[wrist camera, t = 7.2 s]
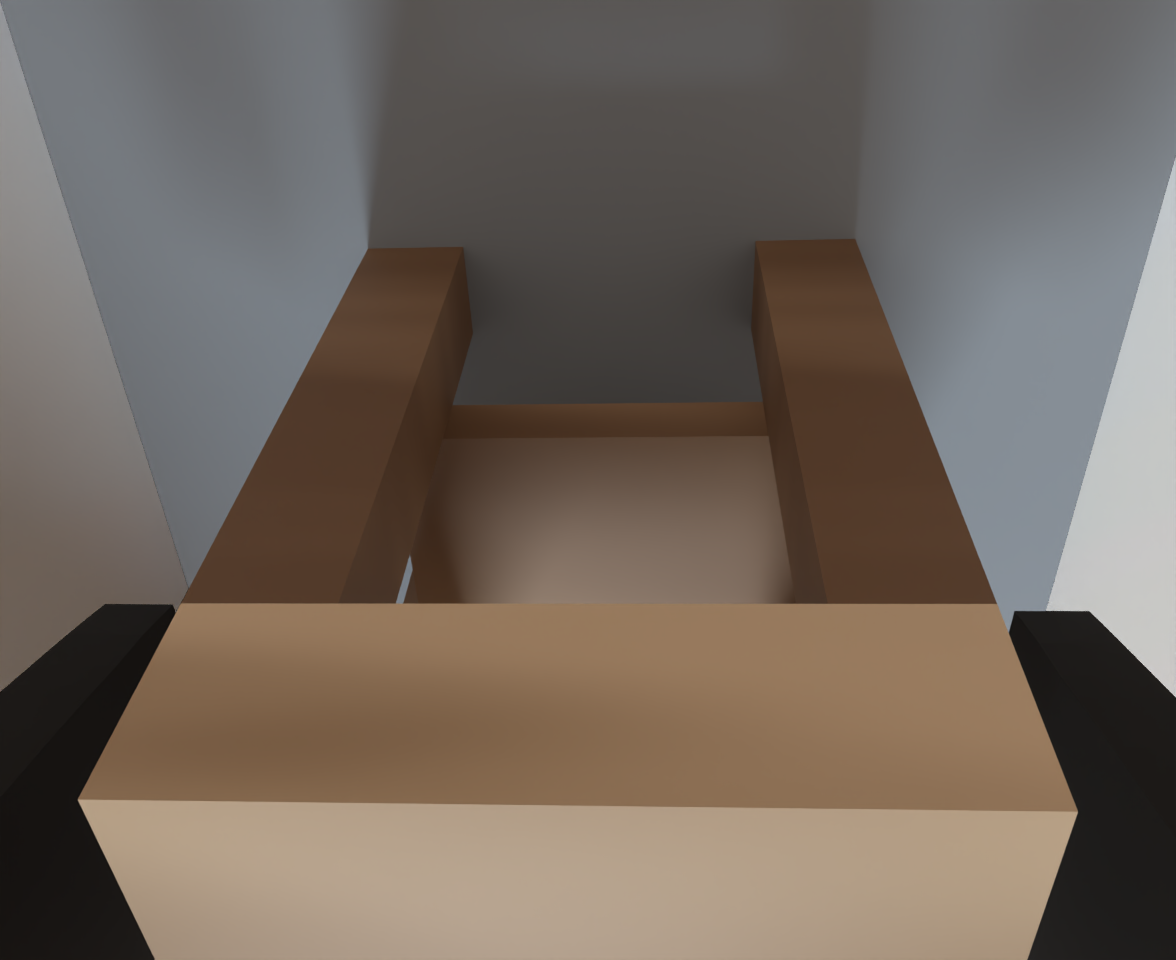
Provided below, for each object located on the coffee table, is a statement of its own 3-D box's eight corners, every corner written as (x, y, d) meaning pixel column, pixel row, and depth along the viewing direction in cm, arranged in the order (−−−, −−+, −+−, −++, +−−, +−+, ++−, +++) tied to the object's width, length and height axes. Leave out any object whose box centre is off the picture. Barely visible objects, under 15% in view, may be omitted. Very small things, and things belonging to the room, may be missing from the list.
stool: (815, 609, 14) (931, 1237, 8) (427, 608, 14) (278, 1214, 8) (855, 238, 11) (1077, 812, 5) (368, 248, 11) (77, 799, 6)
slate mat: (970, 805, 17) (981, 838, 16) (274, 792, 17) (263, 823, 17) (1272, -312, 9) (1309, -313, 8) (-46, -263, 9) (-84, -261, 9)
